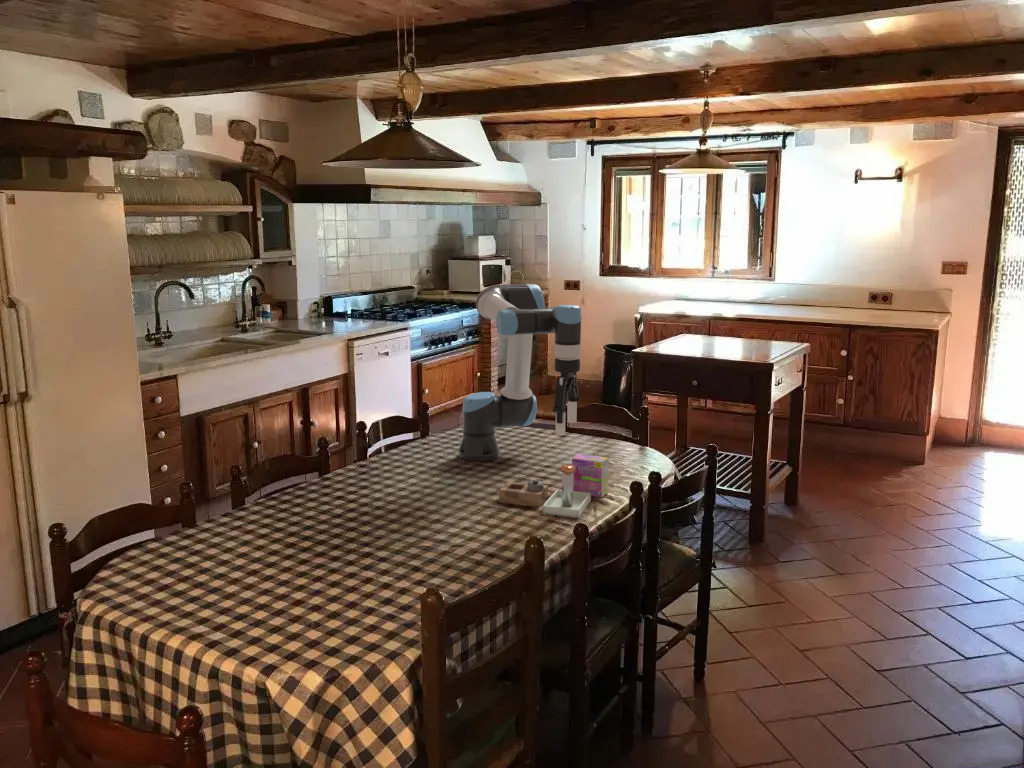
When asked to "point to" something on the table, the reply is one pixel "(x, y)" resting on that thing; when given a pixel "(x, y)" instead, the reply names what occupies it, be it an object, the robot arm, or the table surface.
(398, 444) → the table surface
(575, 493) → the tray
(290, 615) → the table surface
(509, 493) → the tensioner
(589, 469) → the box
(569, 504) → the pin
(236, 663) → the table surface
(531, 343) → the robot arm
